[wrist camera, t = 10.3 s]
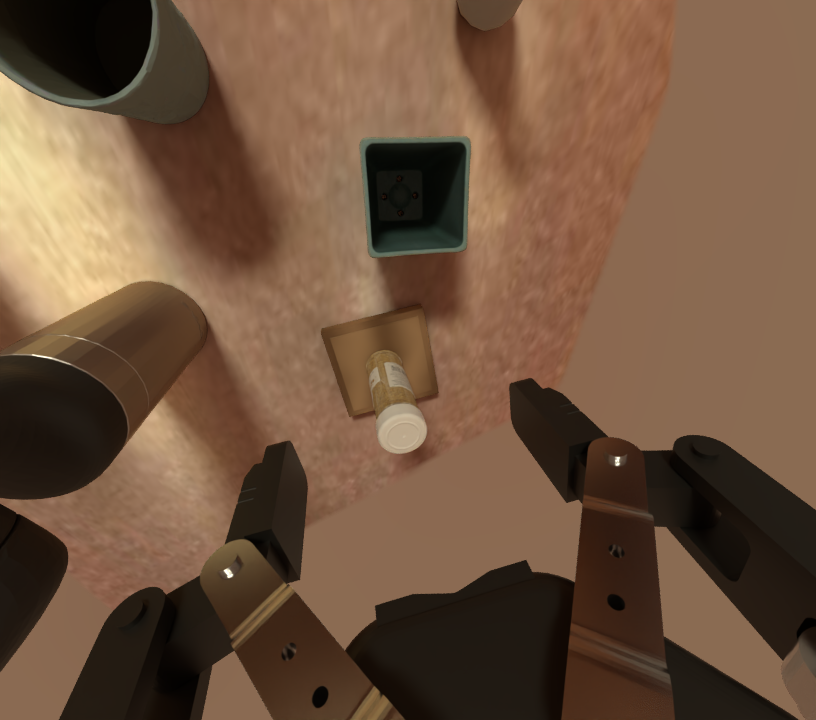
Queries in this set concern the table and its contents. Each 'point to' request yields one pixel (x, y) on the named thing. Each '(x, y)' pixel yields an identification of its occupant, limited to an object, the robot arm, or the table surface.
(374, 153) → the flower pot
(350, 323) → the brown rectangular tray
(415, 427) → the sprinkles bottle
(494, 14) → the salt shaker
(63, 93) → the green round cup
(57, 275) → the table surface
